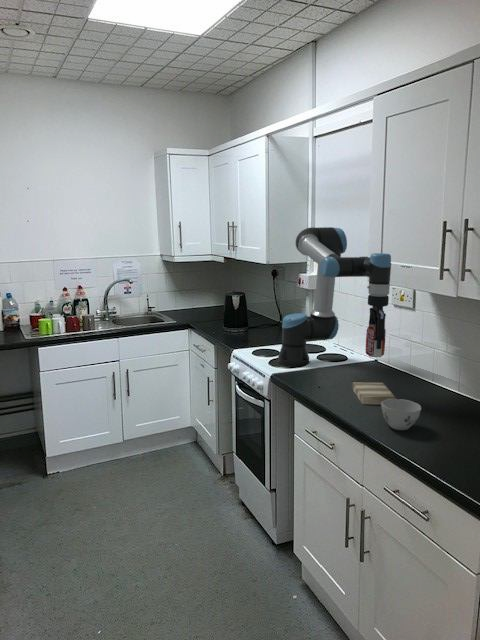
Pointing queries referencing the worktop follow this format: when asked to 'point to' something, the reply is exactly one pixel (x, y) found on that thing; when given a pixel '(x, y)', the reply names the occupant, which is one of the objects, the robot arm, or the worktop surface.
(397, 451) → the worktop surface
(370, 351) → the soda can
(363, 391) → the serving board
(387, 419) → the teacup
